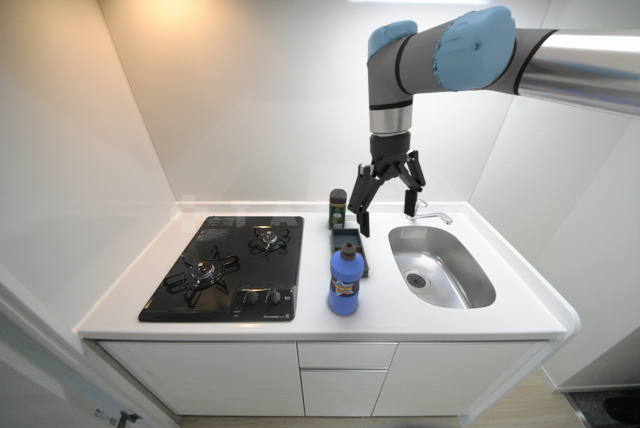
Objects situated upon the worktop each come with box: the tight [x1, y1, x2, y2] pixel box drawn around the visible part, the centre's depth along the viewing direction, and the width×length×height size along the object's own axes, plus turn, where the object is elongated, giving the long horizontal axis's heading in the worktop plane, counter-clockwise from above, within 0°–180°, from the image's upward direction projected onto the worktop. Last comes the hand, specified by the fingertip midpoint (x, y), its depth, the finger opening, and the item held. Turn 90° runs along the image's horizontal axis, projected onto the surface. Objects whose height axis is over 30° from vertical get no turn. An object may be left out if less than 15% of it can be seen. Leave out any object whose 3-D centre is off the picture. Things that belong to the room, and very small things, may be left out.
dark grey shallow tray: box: [330, 227, 370, 278], centre depth 85 cm, size 24×12×4 cm, turn 0°
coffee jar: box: [328, 188, 348, 230], centre depth 97 cm, size 10×8×19 cm
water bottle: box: [328, 243, 364, 316], centre depth 61 cm, size 9×9×25 cm
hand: (387, 224), depth 50 cm, fingers open, 13 cm apart
